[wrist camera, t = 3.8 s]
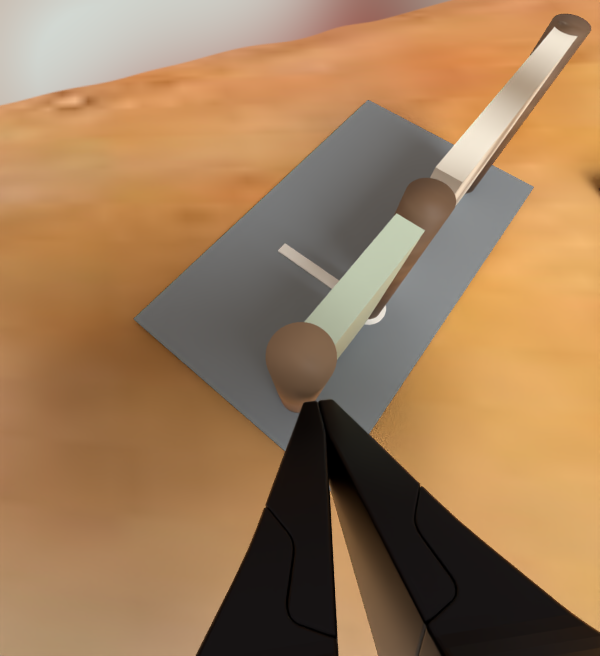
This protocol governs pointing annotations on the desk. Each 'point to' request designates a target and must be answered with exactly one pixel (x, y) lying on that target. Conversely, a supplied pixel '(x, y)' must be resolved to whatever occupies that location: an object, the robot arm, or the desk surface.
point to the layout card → (329, 271)
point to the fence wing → (337, 317)
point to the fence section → (485, 139)
